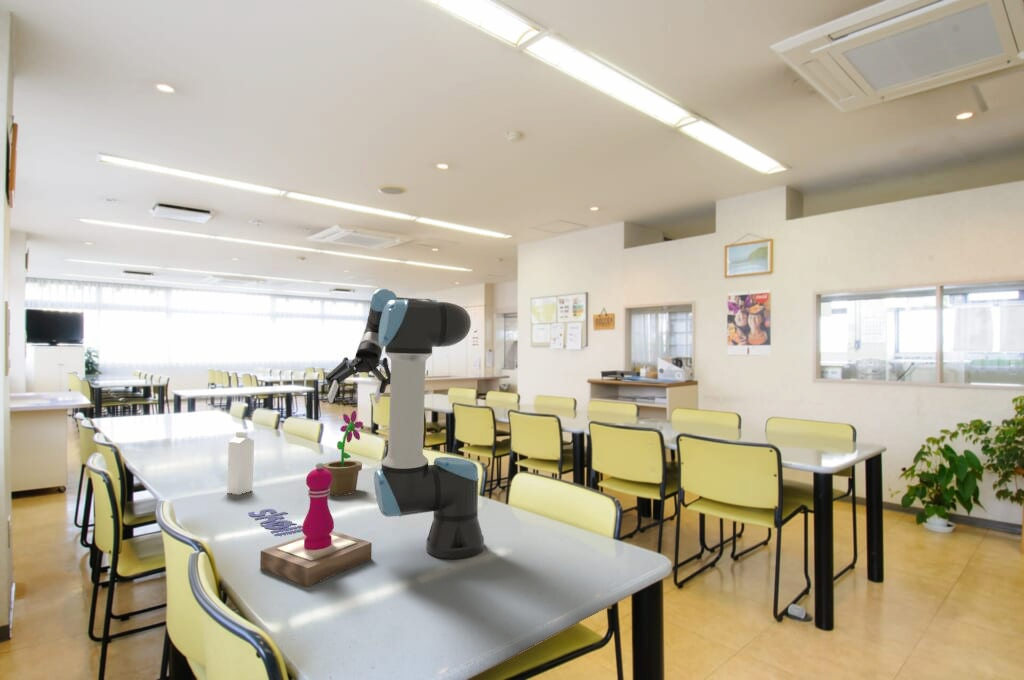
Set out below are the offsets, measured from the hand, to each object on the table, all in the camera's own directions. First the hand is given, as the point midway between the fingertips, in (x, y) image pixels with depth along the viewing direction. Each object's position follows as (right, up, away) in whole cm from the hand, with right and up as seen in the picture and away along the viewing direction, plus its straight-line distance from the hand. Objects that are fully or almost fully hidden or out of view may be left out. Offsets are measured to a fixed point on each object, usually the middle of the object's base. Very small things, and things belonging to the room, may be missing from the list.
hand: (352, 400), depth 143 cm
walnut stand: (-1, -37, -23) cm, 43 cm away
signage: (-26, -38, +8) cm, 47 cm away
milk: (-55, -39, +40) cm, 78 cm away
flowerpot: (-17, -40, +41) cm, 60 cm away
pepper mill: (-1, -33, -23) cm, 40 cm away
